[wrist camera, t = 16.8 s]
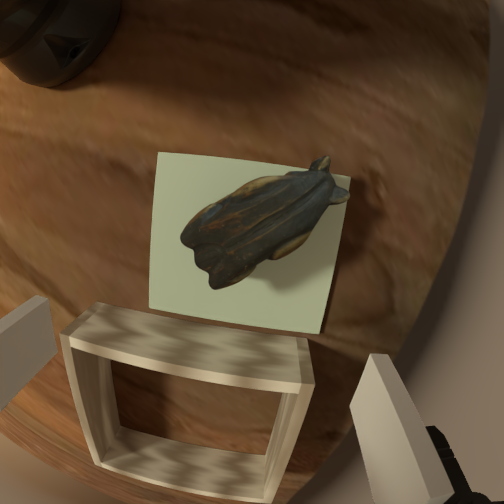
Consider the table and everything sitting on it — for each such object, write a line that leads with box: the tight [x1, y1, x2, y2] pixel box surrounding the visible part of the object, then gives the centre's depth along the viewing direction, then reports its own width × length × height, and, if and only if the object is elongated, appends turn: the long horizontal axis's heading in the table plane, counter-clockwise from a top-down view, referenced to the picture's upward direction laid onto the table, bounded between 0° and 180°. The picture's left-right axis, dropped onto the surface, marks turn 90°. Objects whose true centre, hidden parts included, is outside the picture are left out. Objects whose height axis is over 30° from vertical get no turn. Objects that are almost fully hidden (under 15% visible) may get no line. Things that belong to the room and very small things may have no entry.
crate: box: [60, 302, 315, 503], centre depth 32 cm, size 24×22×8 cm
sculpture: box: [180, 156, 350, 290], centre depth 25 cm, size 13×6×7 cm, turn 123°
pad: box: [149, 152, 351, 334], centre depth 30 cm, size 18×16×1 cm
